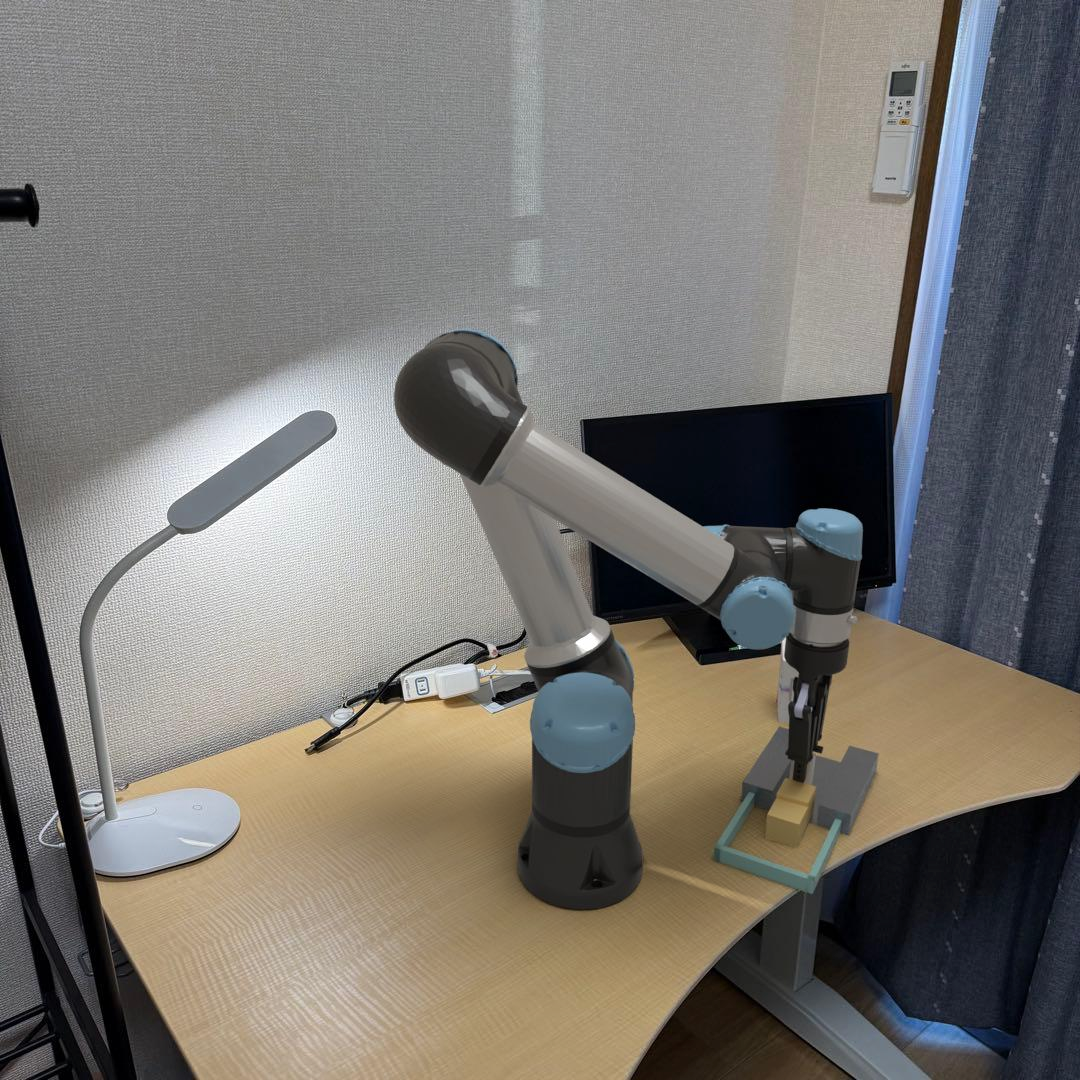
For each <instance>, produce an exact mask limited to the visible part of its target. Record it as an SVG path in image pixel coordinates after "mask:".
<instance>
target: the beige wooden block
mask: <svg viewBox="0 0 1080 1080" xmlns="http://www.w3.org/2000/svg"><path fill="white" fill-rule="evenodd" d="M815 793H816V787H815V786H812V785H808V784H805V783H801V782H798V781H794V780H791V779H788V778H785V780H784V781H783V783H782V785H781V787H780V789H779V790H778V792H777V795H776V798H779V799H782V800H786V801H789V802H792V803H796V804H799V805H802V806H806V807H808V811H807V820H806V828H805V830H806V829H807V827H808V825H809V824H810V823H809V821H810V818H811V816H812V814H813V810H814V802H815Z"/></svg>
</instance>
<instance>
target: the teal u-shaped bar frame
mask: <svg viewBox="0 0 1080 1080" xmlns="http://www.w3.org/2000/svg"><path fill="white" fill-rule="evenodd" d="M754 802H755V794H754V793H751V792H749V793H748V795H747V796H746V798H745V799H744V801H743V802H741V804H740V806H739V807H738V809H737V811H735V814H734V815H733V817H732V818H731V820H730V822H729V823H728V825H727V827H726V828H725V830H724V831H723V832H722V834H721V836H720V837H719V839H718V840H717V842H716V844H715V845H714V847H713V861H715V862H718V863H722V864H725V865H727V866H729V867H733V868H736V869H739V870H741V871H745V872H747V873H750V874H753V875H756V876H759V877H762V878H764V879H767V880H769V881H773V882H776V883H779V884H781V885H784V886H787V887H791V888H793V889H795V890H798V891H801V892H804V893H807V894H810V895H813V893H814V891H815V890H816V887H817V885H818V882H819V880H820V878H821V876H822V875H823V872H824V869H825V867H826V865H827V862H828V860H829V858H830V856H831V855H832V852H833V850H834V847H835V845H836V843H837V841H838V839H839V837H840V835H841V833H840V831H841V823H842V820H839V819H836V818H835V820H834V823H833V825H832V827H831V829H829V831H828V833H827V835H826V837H825V840H824V842H823V844H822V845H821V848H820V850H819V852H818V854H817V857H816V859H815V860H814V863H813V865H812V868H811V870H810V871H809V873H808V874H807V873H805V872H802V871H799V870H796V869H793V868H790V867H787V866H785V865H784V866H783V865H781V864H778V863H776V862H773V861H769V860H768V859H767V860H766V859H763V858H760V857H758V856H754V855H752V854H749V853H746V852H743V851H739V850H738V849H734V848H731V847H730V846H731V844H732V843H733V841H734V839H735V838H736V836H737V834H738V833H739V831H740V829H741V828H742V826H743V825H744V823H745V821H746V820H747V818H748V817H749V815H750V813H752V810H753V808H754V807H755V806H754Z"/></svg>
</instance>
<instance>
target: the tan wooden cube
mask: <svg viewBox="0 0 1080 1080" xmlns="http://www.w3.org/2000/svg"><path fill="white" fill-rule="evenodd" d="M807 811H808V807H806V806H802V805H799V804H796V803H792V802H789V801H786V800H782V799H779V798H776V800H775V801H774V803H773V805H772V807H771V809H770V810H768V812H767V814H766V823H765V832H764V838H765V839H767V840H771V841H774V842H777V843H780V844H783V845H786V846H790V847H793V848H795V849H796V848H798V846H799V845H800V844H799V843H800V842H801V839H802V837H803V836H804V833H805V832H806V829H807V827H806V820H807ZM805 828H806V829H805Z"/></svg>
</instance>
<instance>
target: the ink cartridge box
mask: <svg viewBox="0 0 1080 1080" xmlns="http://www.w3.org/2000/svg"><path fill="white" fill-rule="evenodd" d="M785 642H786V637H785V639H784V640H783V641H781V646H780V656H779V657H780V658H779V659H780V660H779V669H778V670H779V671H778V672H779V673H778V681H777V689H776V690H777V691H776V703H777V719H778V721H777V722H778V723H783V724H787V723H788V724H789V712H788V705H789V703H790V702H793V698H794V691H793V681H794V678H795V677H798V675H799V673H798V671H797V670H796V669H794V668H793V667H791V666H790V665H789V664H788V663H787V662H786V660H785V658H784V652H785Z"/></svg>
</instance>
